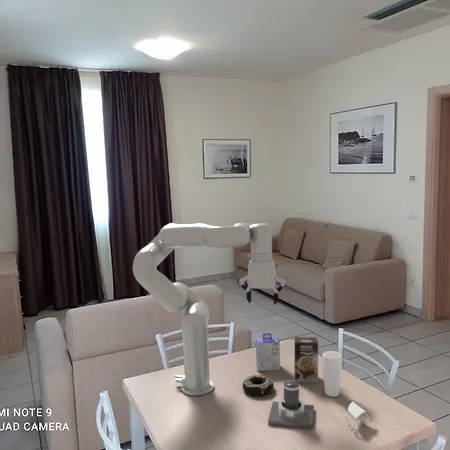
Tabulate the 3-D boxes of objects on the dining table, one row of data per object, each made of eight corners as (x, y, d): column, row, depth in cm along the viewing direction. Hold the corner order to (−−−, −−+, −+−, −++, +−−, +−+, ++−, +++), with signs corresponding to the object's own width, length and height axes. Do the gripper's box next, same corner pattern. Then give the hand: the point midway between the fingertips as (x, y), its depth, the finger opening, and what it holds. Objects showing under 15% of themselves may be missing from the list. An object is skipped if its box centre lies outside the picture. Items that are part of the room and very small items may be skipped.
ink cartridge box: (279, 365, 183) (278, 332, 181) (280, 370, 177) (280, 336, 176) (256, 365, 183) (255, 332, 181) (256, 371, 178) (256, 337, 176)
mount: (268, 424, 139) (267, 411, 139) (273, 405, 151) (272, 393, 150) (312, 429, 136) (312, 416, 135) (313, 409, 147) (313, 397, 147)
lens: (282, 415, 141) (283, 387, 140) (283, 407, 146) (284, 379, 145) (298, 417, 140) (299, 388, 139) (299, 409, 145) (299, 380, 144)
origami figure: (376, 432, 133) (376, 417, 133) (350, 434, 133) (350, 419, 132) (361, 411, 145) (361, 397, 145) (337, 413, 145) (337, 399, 144)
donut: (239, 396, 158) (239, 386, 158) (246, 381, 169) (246, 371, 169) (270, 400, 155) (270, 389, 155) (276, 384, 166) (275, 374, 166)
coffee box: (294, 382, 167) (294, 342, 165) (294, 375, 173) (293, 336, 172) (318, 383, 166) (318, 342, 164) (317, 375, 172) (316, 336, 170)
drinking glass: (342, 399, 154) (342, 359, 152) (322, 397, 155) (322, 357, 153) (341, 390, 160) (341, 351, 158) (322, 388, 161) (322, 350, 160)
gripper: (236, 258, 156) (237, 304, 158) (284, 259, 152) (284, 306, 154) (240, 254, 164) (241, 298, 166) (286, 255, 159) (287, 300, 161)
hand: (262, 302), depth 160 cm, fingers open, 9 cm apart
